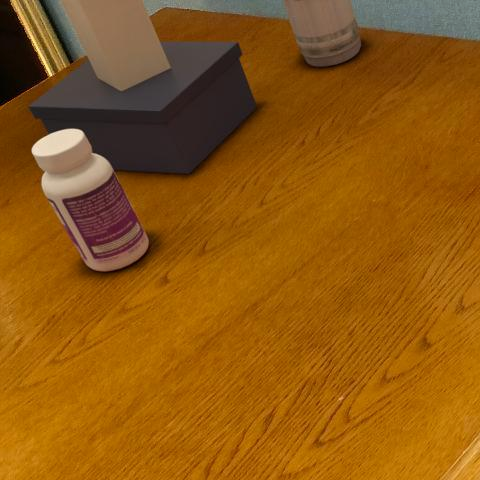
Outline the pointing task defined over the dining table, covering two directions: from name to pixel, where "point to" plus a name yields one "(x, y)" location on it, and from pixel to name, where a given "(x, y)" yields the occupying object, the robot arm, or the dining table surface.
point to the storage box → (156, 109)
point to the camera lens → (324, 30)
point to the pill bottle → (89, 201)
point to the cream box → (117, 40)
